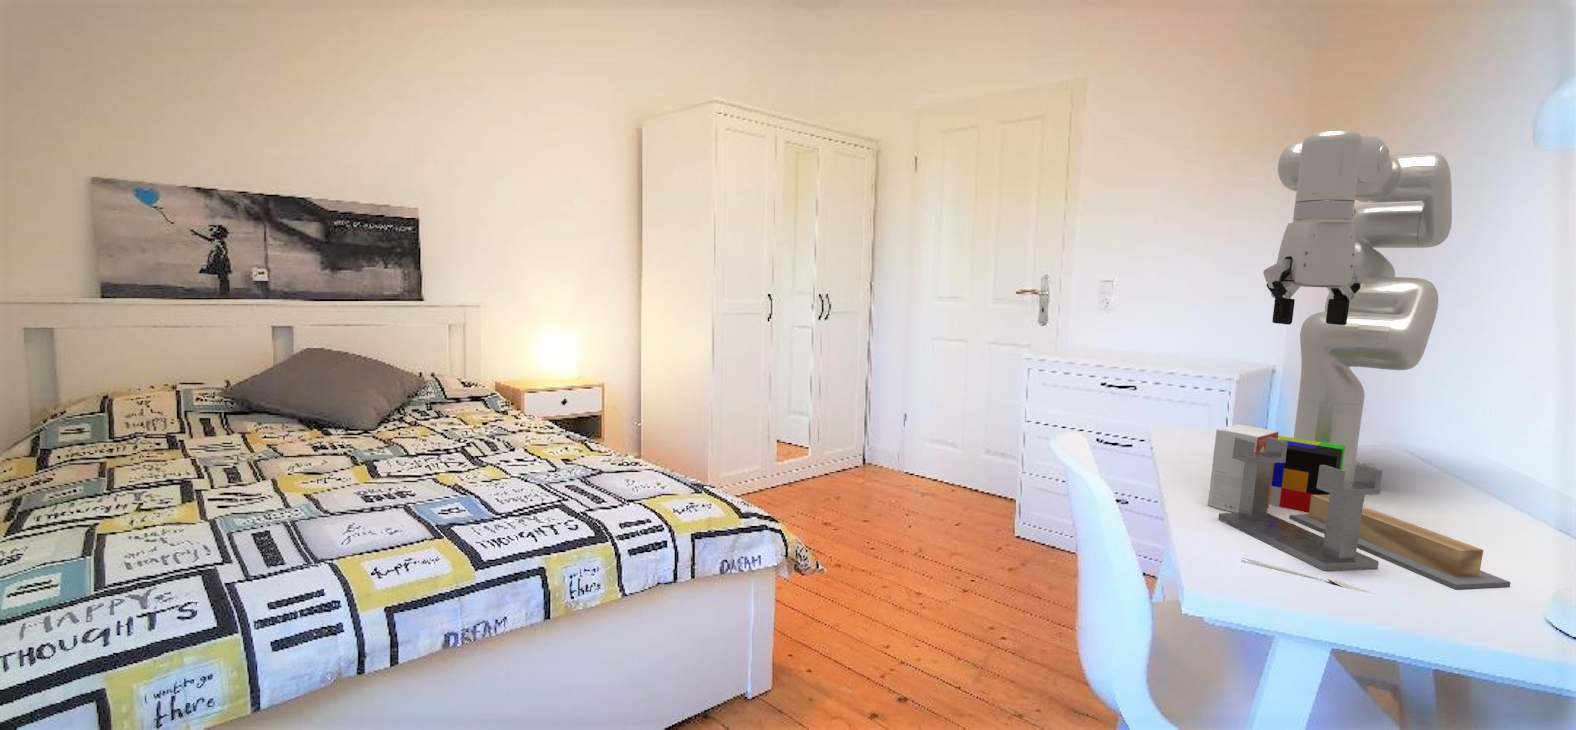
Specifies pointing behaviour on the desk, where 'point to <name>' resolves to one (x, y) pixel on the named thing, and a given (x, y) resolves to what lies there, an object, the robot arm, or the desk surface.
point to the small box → (1233, 465)
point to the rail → (1410, 540)
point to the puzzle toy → (1302, 472)
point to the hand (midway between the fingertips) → (1308, 323)
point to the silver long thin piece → (1305, 575)
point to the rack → (1294, 540)
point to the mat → (1414, 562)
